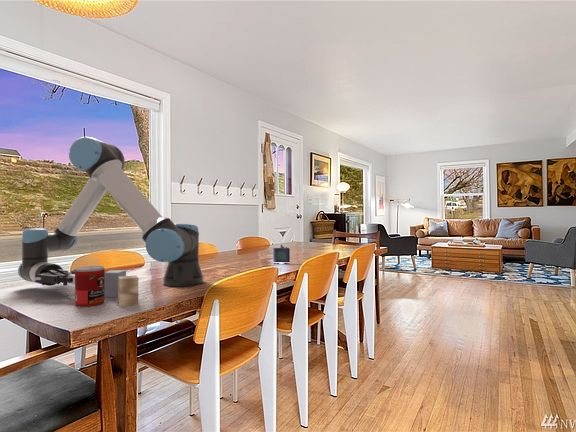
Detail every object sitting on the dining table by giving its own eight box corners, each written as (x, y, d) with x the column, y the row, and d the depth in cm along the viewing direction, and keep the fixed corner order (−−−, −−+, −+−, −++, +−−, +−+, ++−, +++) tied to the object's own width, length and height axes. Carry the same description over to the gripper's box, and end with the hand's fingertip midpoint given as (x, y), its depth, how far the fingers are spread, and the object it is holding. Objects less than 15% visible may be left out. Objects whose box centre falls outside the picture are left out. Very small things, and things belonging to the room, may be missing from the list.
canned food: (91, 307, 99) (91, 269, 99) (68, 306, 101) (68, 269, 101) (110, 301, 106) (110, 266, 106) (88, 300, 108) (88, 265, 108)
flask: (272, 264, 189) (272, 244, 189) (273, 263, 192) (273, 244, 192) (289, 264, 188) (289, 244, 188) (290, 263, 191) (290, 244, 191)
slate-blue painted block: (126, 293, 117) (126, 270, 117) (118, 297, 112) (117, 272, 112) (111, 293, 117) (111, 270, 117) (103, 296, 112) (103, 272, 112)
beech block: (135, 300, 107) (135, 275, 107) (138, 304, 103) (138, 277, 103) (118, 302, 105) (118, 276, 105) (120, 306, 100) (120, 279, 100)
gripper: (67, 281, 125) (101, 289, 112) (24, 287, 114) (57, 296, 101) (67, 261, 125) (101, 266, 112) (24, 265, 114) (57, 271, 101)
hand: (80, 280), depth 106 cm, fingers closed
